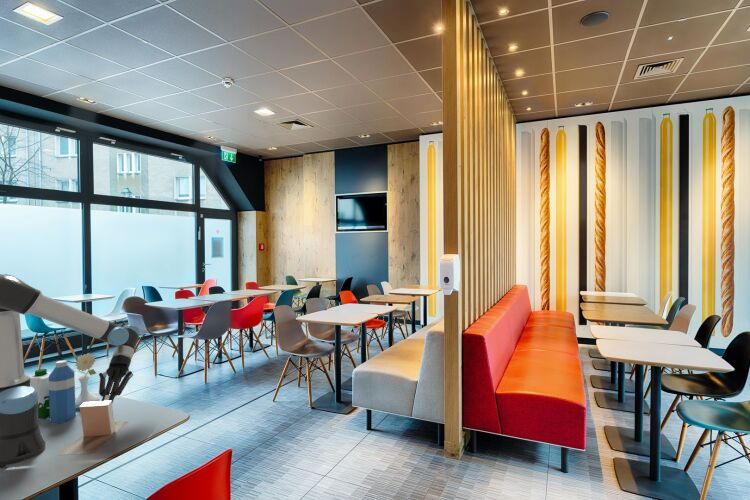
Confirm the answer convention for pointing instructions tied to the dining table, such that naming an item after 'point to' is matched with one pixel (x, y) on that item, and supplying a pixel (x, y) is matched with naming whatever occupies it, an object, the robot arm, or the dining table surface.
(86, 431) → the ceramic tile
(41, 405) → the milk carton
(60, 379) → the water bottle
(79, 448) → the walnut board
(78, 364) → the flower in vase
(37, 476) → the dining table surface
